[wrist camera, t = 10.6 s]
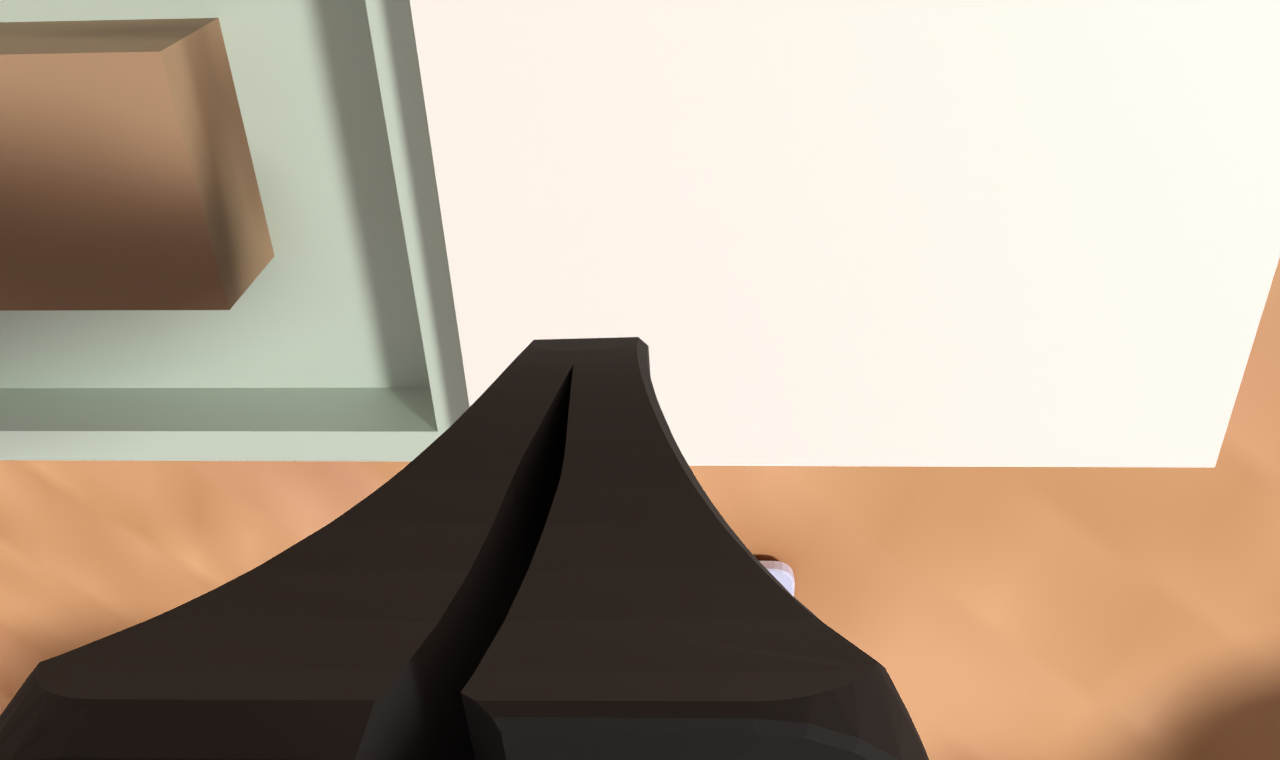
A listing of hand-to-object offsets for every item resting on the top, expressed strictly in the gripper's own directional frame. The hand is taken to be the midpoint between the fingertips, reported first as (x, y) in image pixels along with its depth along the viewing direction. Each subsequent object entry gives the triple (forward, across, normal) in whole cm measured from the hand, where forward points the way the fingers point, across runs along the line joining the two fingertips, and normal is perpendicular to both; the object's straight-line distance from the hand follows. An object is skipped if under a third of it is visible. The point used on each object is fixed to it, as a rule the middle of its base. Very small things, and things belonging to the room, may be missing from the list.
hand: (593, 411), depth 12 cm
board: (+10, -4, 0) cm, 11 cm away
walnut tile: (+9, +10, 0) cm, 14 cm away
